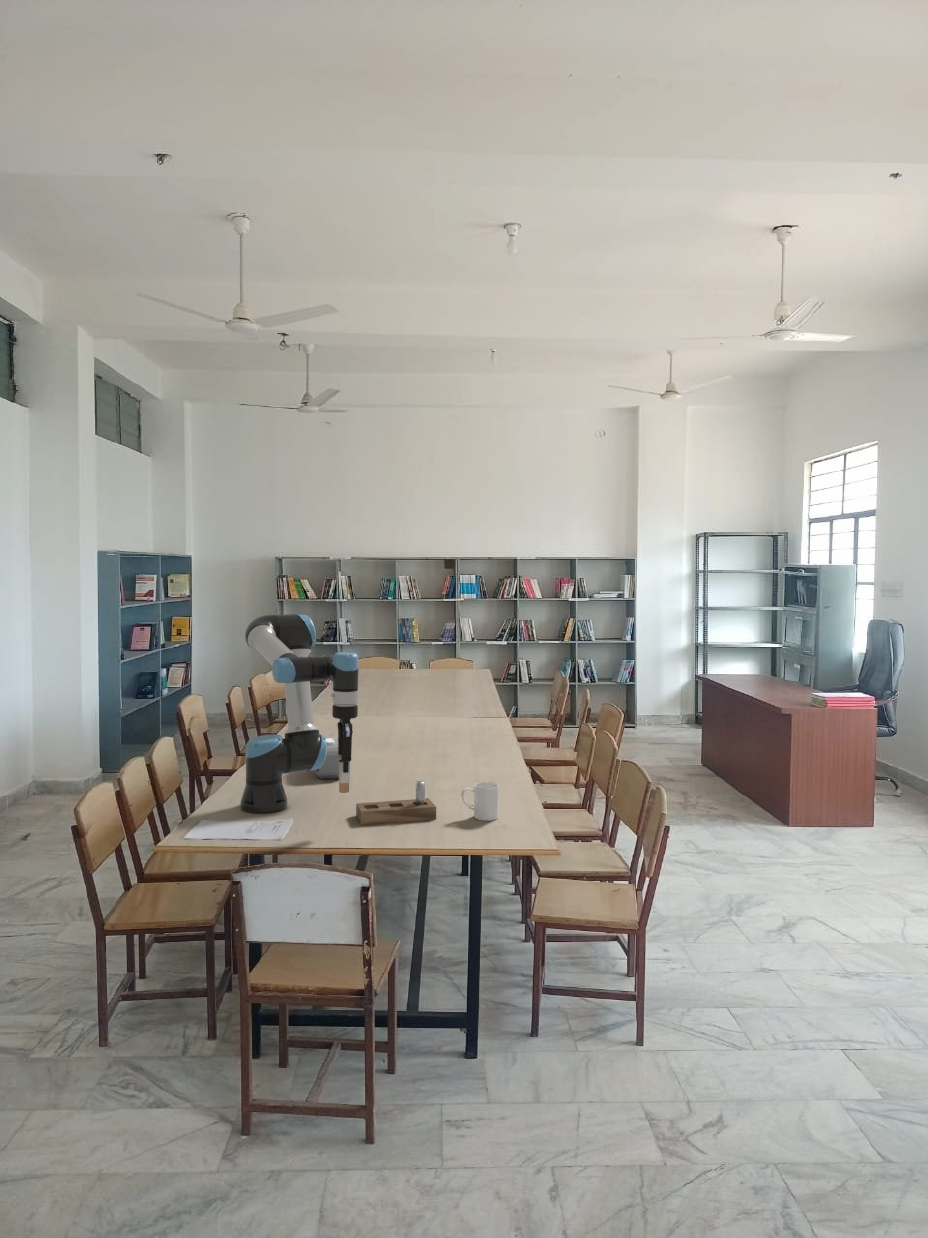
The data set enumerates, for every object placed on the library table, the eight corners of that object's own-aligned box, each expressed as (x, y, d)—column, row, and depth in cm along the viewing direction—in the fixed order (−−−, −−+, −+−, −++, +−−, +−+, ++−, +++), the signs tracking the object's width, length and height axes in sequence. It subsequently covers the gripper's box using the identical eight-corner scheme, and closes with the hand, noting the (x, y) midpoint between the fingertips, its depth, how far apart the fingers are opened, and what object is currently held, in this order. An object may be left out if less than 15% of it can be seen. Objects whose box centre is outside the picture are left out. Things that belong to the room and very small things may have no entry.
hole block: (356, 815, 265) (356, 803, 265) (428, 810, 272) (428, 798, 272) (361, 825, 255) (361, 812, 255) (436, 819, 262) (436, 806, 262)
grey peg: (414, 814, 267) (414, 781, 266) (423, 813, 268) (423, 780, 267) (416, 817, 264) (417, 783, 263) (425, 816, 265) (426, 782, 264)
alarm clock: (311, 769, 325) (311, 735, 324) (335, 767, 328) (335, 734, 327) (319, 782, 306) (319, 746, 305) (344, 780, 309) (344, 745, 308)
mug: (494, 813, 270) (495, 781, 269) (501, 820, 262) (501, 788, 261) (458, 815, 267) (459, 783, 266) (464, 822, 259) (464, 789, 259)
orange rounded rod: (338, 790, 250) (338, 754, 249) (348, 789, 250) (348, 754, 250) (339, 793, 247) (340, 757, 246) (349, 792, 248) (350, 756, 247)
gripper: (329, 700, 253) (328, 775, 255) (336, 709, 238) (335, 789, 240) (353, 699, 255) (352, 774, 257) (361, 708, 240) (360, 787, 242)
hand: (344, 781), depth 248 cm, fingers closed on orange rounded rod, 2 cm apart
